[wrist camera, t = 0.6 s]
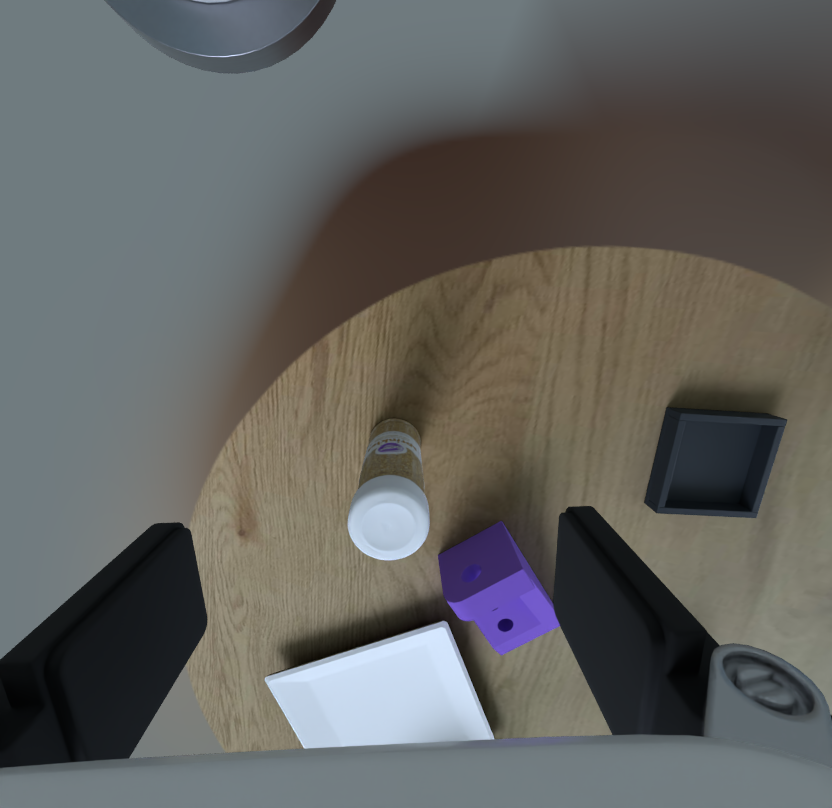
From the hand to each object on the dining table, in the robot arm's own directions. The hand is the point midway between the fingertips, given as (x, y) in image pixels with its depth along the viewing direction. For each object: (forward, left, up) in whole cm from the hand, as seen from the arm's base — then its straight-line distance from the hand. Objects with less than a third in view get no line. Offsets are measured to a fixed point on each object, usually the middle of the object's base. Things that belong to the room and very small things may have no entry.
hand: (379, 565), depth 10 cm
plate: (+34, +1, -24) cm, 42 cm away
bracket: (+19, +11, -24) cm, 33 cm away
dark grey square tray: (+5, +28, -24) cm, 37 cm away
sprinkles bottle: (+5, 0, -24) cm, 25 cm away
